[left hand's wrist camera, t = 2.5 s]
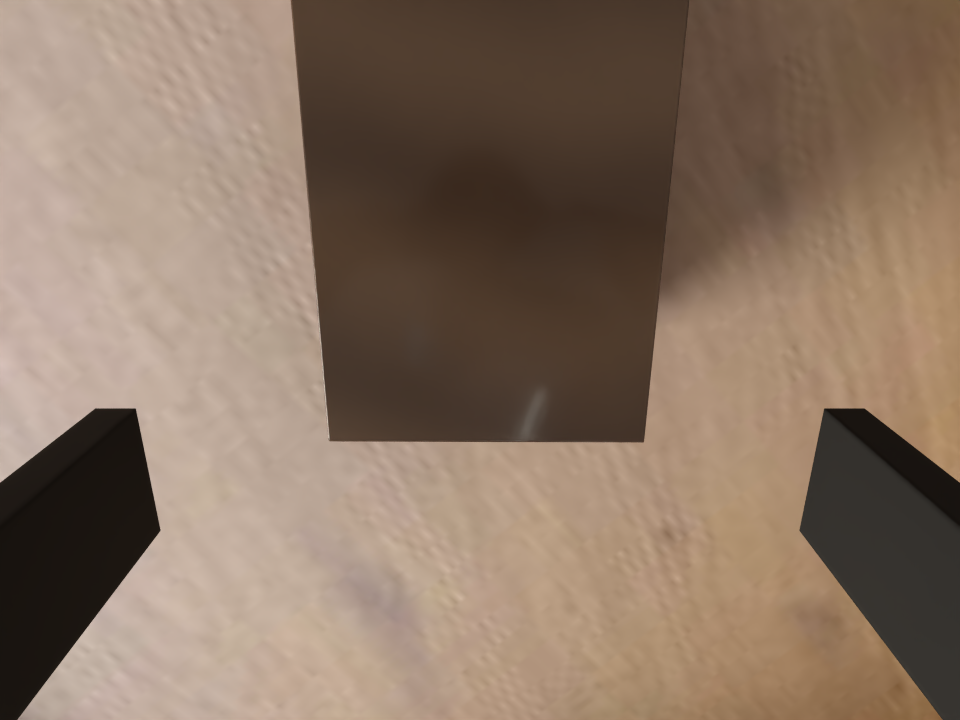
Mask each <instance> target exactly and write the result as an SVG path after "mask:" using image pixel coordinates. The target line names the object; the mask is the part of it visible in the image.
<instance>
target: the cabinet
mask: <svg viewBox="0 0 960 720" xmlns="http://www.w3.org/2000/svg"><path fill="white" fill-rule="evenodd" d="M291 7H292V19H293V31H294V42H295V54H296V66H297V77H298V89H299V101H300V112H301V124H302V136H303V147H304V159H305V171H306V182H307V194H308V206H309V217H310V229H311V241H312V252H313V264H314V275H315V287H316V299H317V310H318V322H319V334H320V345H321V357H322V369H323V380H324V392H325V404H326V415H327V427H328V439H329V441H400V442H644V436H645V426H646V416H647V407H648V397H649V387H650V377H651V368H652V358H653V348H654V338H655V329H656V319H657V309H658V299H659V290H660V280H661V270H662V260H663V251H664V241H665V231H666V221H667V212H668V202H669V192H670V182H671V173H672V163H673V153H674V143H675V134H676V124H677V114H678V104H679V95H680V85H681V75H682V65H683V56H684V46H685V36H686V26H687V17H688V7H689V0H291Z"/></svg>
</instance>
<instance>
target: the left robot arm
mask: <svg viewBox="0 0 960 720" xmlns="http://www.w3.org/2000/svg"><path fill="white" fill-rule="evenodd" d="M159 532H160V526H159V521H158V516H157V511H156V506H155V501H154V496H153V491H152V486H151V482H150V477H149V472H148V467H147V462H146V457H145V452H144V447H143V442H142V437H141V432H140V427H139V422H138V418H137V413H136V409H94V410H93V411H92V412H90V413H89V414H88V415H87V416H85V417H84V418H83V419H82V420H80V421H79V422H78V423H76V424H75V425H74V426H73V427H71V428H70V429H69V430H67V431H66V432H65V433H64V434H62V435H61V436H60V437H58V438H57V439H56V440H55V441H53V442H52V443H51V444H49V445H48V446H47V447H46V448H44V449H43V450H42V451H40V452H39V453H38V454H37V455H35V456H34V457H33V458H31V459H30V460H29V461H28V462H26V463H25V464H24V465H22V466H21V467H20V468H19V469H17V470H16V471H15V472H14V473H12V474H11V475H10V476H8V477H7V478H6V479H5V480H3V481H2V482H1V483H0V720H17V719H18V718H19V717H20V715H21V714H22V713H23V711H24V710H25V709H26V707H27V706H28V705H29V703H30V702H31V701H32V699H33V698H34V697H35V696H36V694H37V693H38V692H39V690H40V689H41V688H42V686H43V685H44V684H45V682H46V681H47V680H48V678H49V677H50V676H51V674H52V673H53V672H54V670H55V669H56V668H57V666H58V665H59V664H60V663H61V661H62V660H63V659H64V657H65V656H66V655H67V653H68V652H69V651H70V649H71V648H72V647H73V645H74V644H75V643H76V641H77V640H78V639H79V637H80V636H81V635H82V634H83V632H84V631H85V630H86V628H87V627H88V626H89V624H90V623H91V622H92V620H93V619H94V618H95V616H96V615H97V614H98V612H99V611H100V610H101V608H102V607H103V606H104V604H105V603H106V602H107V601H108V599H109V598H110V597H111V595H112V594H113V593H114V591H115V590H116V589H117V587H118V586H119V585H120V583H121V582H122V581H123V579H124V578H125V577H126V575H127V574H128V573H129V571H130V570H131V569H132V568H133V566H134V565H135V564H136V562H137V561H138V560H139V558H140V557H141V556H142V554H143V553H144V552H145V550H146V549H147V548H148V546H149V545H150V544H151V542H152V541H153V540H154V538H155V537H156V536H157V535H158V533H159ZM800 532H801V533H802V535H803V536H804V537H805V538H806V540H807V541H808V542H809V544H810V545H811V546H812V548H813V549H814V550H815V552H816V553H817V554H818V556H819V557H820V558H821V560H822V561H823V562H824V564H825V565H826V566H827V568H828V569H829V570H830V571H831V573H832V574H833V575H834V577H835V578H836V579H837V581H838V582H839V583H840V585H841V586H842V587H843V589H844V590H845V591H846V593H847V594H848V595H849V597H850V598H851V599H852V601H853V602H854V603H855V604H856V606H857V607H858V608H859V610H860V611H861V612H862V614H863V615H864V616H865V618H866V619H867V620H868V622H869V623H870V624H871V626H872V627H873V628H874V630H875V631H876V632H877V634H878V635H879V636H880V637H881V639H882V640H883V641H884V643H885V644H886V645H887V647H888V648H889V649H890V651H891V652H892V653H893V655H894V656H895V657H896V659H897V660H898V661H899V663H900V664H901V665H902V666H903V668H904V669H905V670H906V672H907V673H908V674H909V676H910V677H911V678H912V680H913V681H914V682H915V684H916V685H917V686H918V688H919V689H920V690H921V692H922V693H923V694H924V696H925V697H926V698H927V699H928V701H929V702H930V703H931V705H932V706H933V707H934V709H935V710H936V711H937V713H938V714H939V715H940V717H941V718H942V719H943V720H960V483H959V482H958V481H957V480H955V479H954V478H953V477H952V476H950V475H949V474H948V473H946V472H945V471H944V470H943V469H941V468H940V467H939V466H938V465H936V464H935V463H934V462H932V461H931V460H930V459H929V458H927V457H926V456H925V455H923V454H922V453H921V452H920V451H918V450H917V449H916V448H914V447H913V446H912V445H911V444H909V443H908V442H907V441H905V440H904V439H903V438H902V437H900V436H899V435H898V434H896V433H895V432H894V431H893V430H891V429H890V428H889V427H887V426H886V425H885V424H884V423H882V422H881V421H880V420H878V419H877V418H876V417H875V416H873V415H872V414H871V413H870V412H868V411H867V410H866V409H824V413H823V418H822V422H821V427H820V432H819V437H818V442H817V447H816V452H815V457H814V462H813V467H812V472H811V477H810V482H809V486H808V491H807V496H806V501H805V506H804V511H803V516H802V521H801V526H800Z"/></svg>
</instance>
